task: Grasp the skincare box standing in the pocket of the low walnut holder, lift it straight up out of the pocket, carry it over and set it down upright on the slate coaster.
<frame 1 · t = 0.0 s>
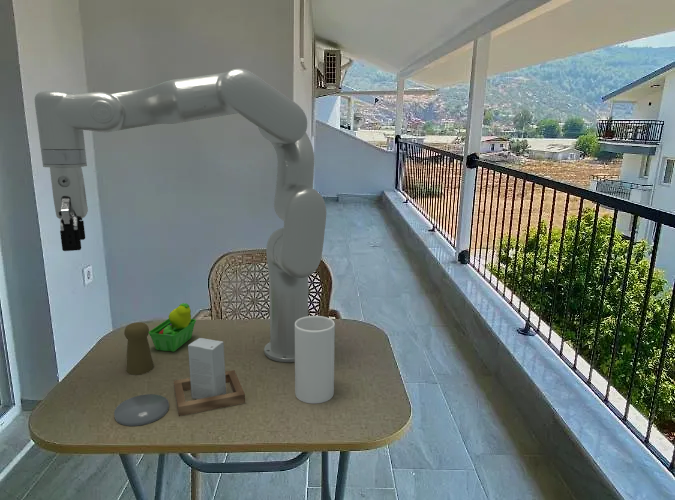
hand: (74, 244, 98), 31 cm above the table, tool pointing down, fingers open, 9 cm apart
walnut holder: (208, 395, 101), on the table
skincare box: (208, 396, 101), resting in walnut holder
cup: (314, 393, 103), on the table
slate coaster: (142, 411, 95), on the table
fruit basket: (176, 344, 126), on the table
cork: (140, 369, 112), on the table
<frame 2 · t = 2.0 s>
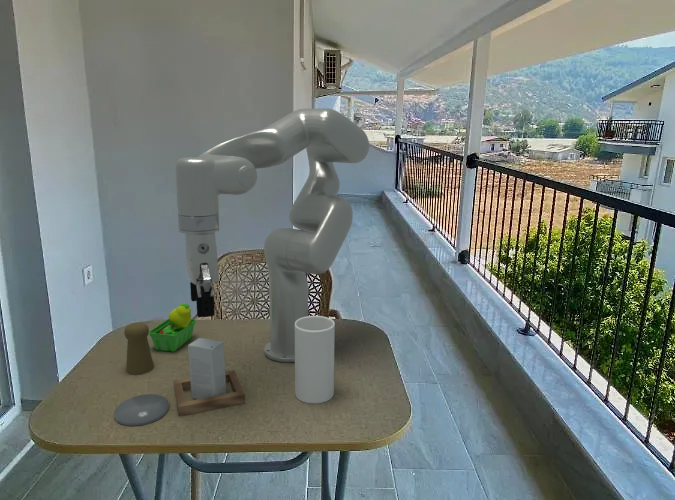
hand: (202, 307, 96), 20 cm above the table, tool pointing down, fingers open, 9 cm apart
nothing on the table moved.
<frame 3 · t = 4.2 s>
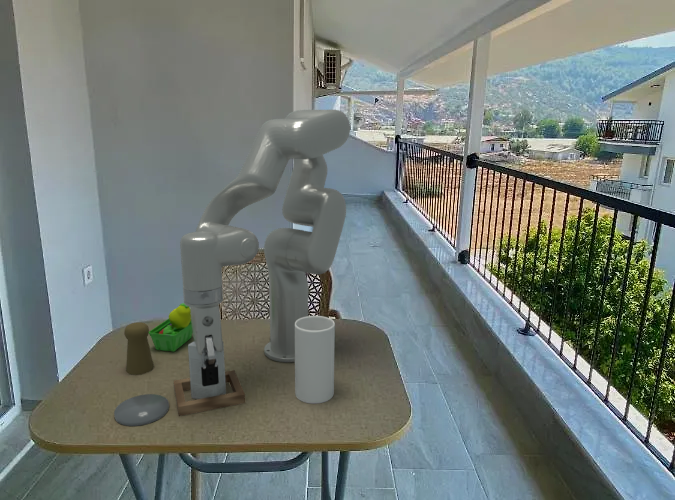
hand: (207, 375, 100), 5 cm above the table, tool pointing down, fingers closed on skincare box, 7 cm apart
skincare box: (208, 396, 101), resting in walnut holder, touching gripper
everything else where it was.
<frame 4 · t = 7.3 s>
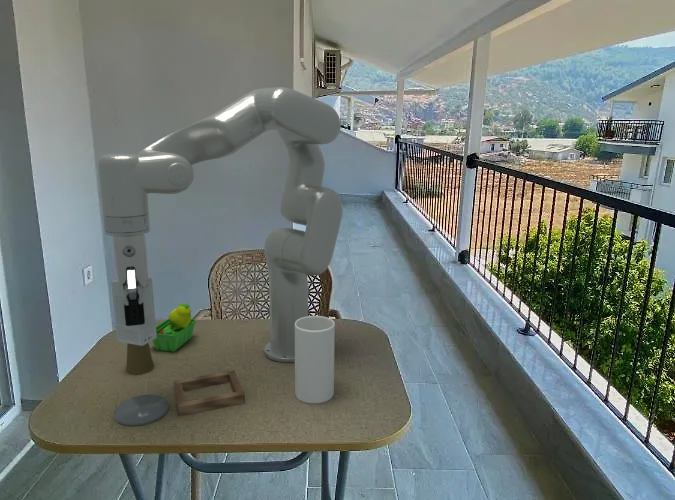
hand: (135, 316, 91), 20 cm above the table, tool pointing down, fingers closed on skincare box, 7 cm apart
skincare box: (137, 340, 92), point 15 cm above the table, touching gripper
everything else where it was.
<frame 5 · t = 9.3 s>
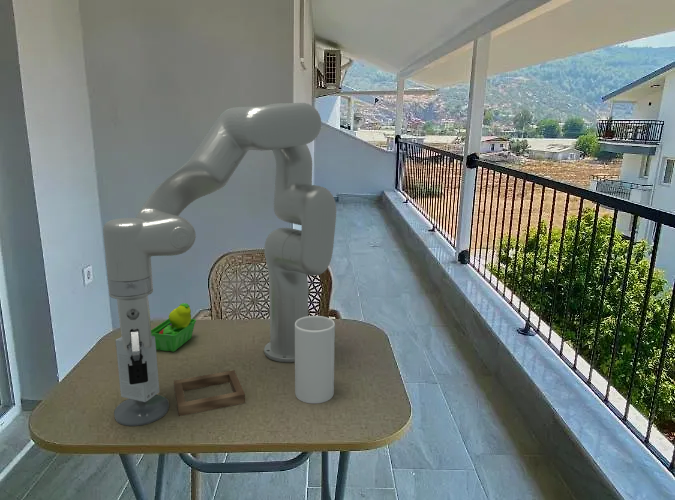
hand: (138, 372, 93), 8 cm above the table, tool pointing down, fingers closed on skincare box, 7 cm apart
skincare box: (140, 395, 95), point 3 cm above the table, touching gripper
everything else where it was.
when the fingers open (6 cm above the table, at t = 10.7 s): skincare box stays where it is, resting on slate coaster.
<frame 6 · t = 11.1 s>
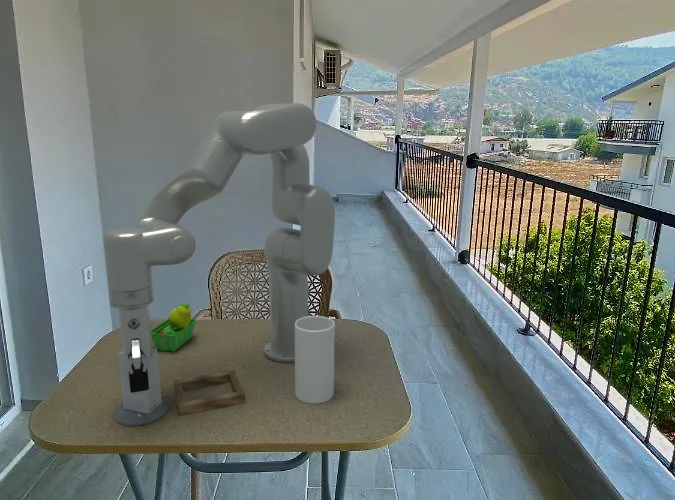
hand: (139, 378, 94), 7 cm above the table, tool pointing down, fingers open, 9 cm apart
skincare box: (142, 407, 96), point 1 cm above the table, touching slate coaster
everything else where it was.
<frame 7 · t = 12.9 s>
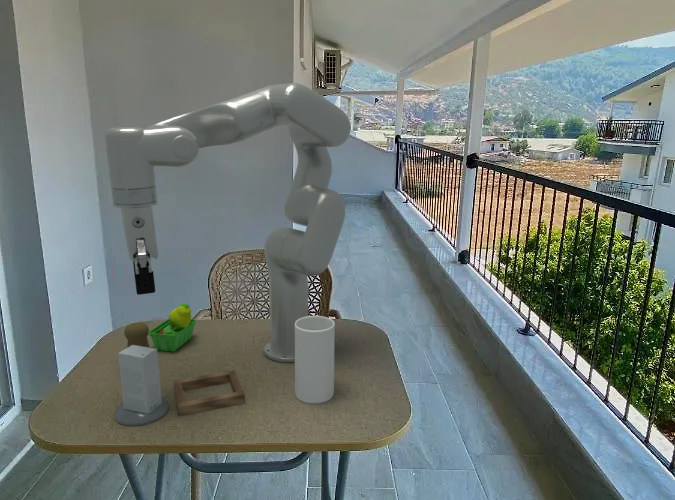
hand: (144, 285, 93), 25 cm above the table, tool pointing down, fingers open, 9 cm apart
nothing on the table moved.
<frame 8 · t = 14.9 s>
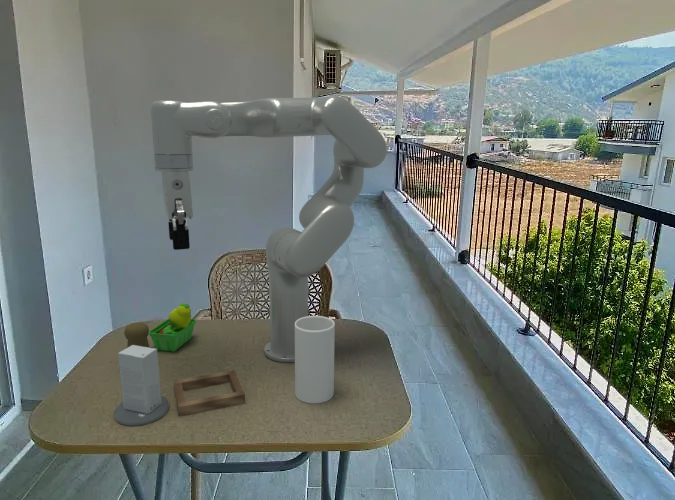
hand: (179, 243, 104), 30 cm above the table, tool pointing down, fingers open, 9 cm apart
nothing on the table moved.
at the end: skincare box 0.4 cm from the slate coaster (horizontally); skincare box tilted 0°; skincare box point 0.6 cm above the table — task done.
